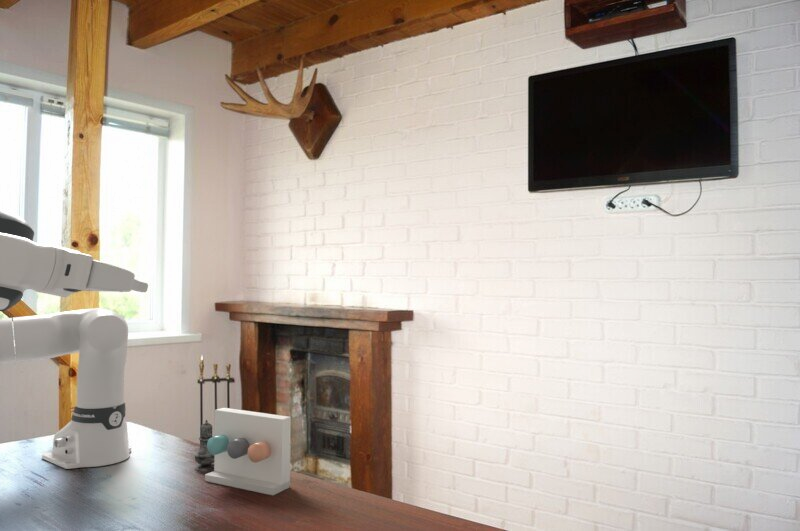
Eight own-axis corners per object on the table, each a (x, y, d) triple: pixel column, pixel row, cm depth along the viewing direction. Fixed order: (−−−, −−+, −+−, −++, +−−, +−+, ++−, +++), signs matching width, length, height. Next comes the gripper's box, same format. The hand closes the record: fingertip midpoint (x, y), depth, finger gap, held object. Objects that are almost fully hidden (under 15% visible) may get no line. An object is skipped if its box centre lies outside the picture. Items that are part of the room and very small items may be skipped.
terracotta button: (247, 461, 139) (247, 443, 139) (256, 457, 142) (256, 440, 142) (261, 463, 137) (262, 445, 137) (270, 460, 140) (270, 442, 140)
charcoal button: (226, 457, 142) (227, 439, 142) (235, 454, 144) (236, 436, 144) (240, 459, 140) (240, 441, 140) (249, 456, 143) (249, 438, 143)
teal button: (206, 453, 144) (207, 436, 144) (216, 450, 147) (216, 433, 147) (220, 456, 143) (220, 438, 143) (229, 452, 145) (229, 435, 145)
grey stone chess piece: (210, 472, 153) (211, 423, 153) (188, 470, 154) (189, 421, 154) (222, 465, 159) (223, 417, 159) (201, 463, 160) (201, 416, 160)
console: (204, 480, 147) (205, 412, 147) (222, 473, 152) (223, 407, 152) (273, 495, 137) (273, 422, 138) (289, 487, 143) (290, 416, 143)
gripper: (38, 288, 121) (109, 302, 131) (79, 289, 107) (155, 304, 117) (46, 257, 123) (116, 273, 132) (88, 253, 109) (162, 271, 118)
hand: (135, 288), depth 125 cm, fingers open, 8 cm apart
